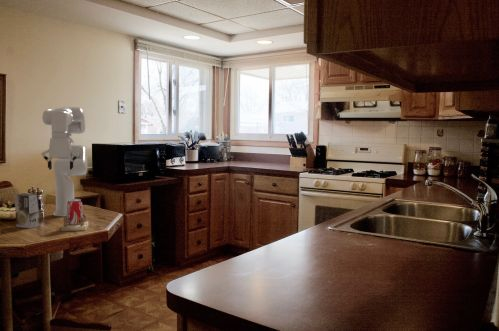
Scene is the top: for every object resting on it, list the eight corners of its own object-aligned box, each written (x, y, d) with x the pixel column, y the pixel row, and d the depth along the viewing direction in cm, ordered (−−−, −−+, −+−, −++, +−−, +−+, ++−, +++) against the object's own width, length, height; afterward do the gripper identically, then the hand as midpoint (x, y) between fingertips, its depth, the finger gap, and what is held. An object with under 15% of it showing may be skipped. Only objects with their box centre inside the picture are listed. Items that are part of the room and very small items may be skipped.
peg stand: (65, 225, 209) (64, 214, 209) (88, 225, 212) (88, 213, 211) (61, 231, 199) (60, 218, 198) (85, 230, 201) (85, 217, 201)
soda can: (79, 225, 202) (78, 201, 201) (64, 225, 202) (64, 200, 201) (85, 222, 209) (84, 198, 208) (71, 222, 209) (70, 198, 208)
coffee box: (40, 225, 209) (39, 193, 207) (29, 228, 203) (28, 195, 201) (26, 224, 212) (25, 192, 210) (15, 226, 206) (14, 194, 204)
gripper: (79, 135, 216) (80, 168, 217) (42, 134, 211) (43, 168, 213) (77, 135, 208) (78, 170, 210) (39, 135, 204) (40, 170, 206)
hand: (60, 169), depth 211 cm, fingers open, 9 cm apart
